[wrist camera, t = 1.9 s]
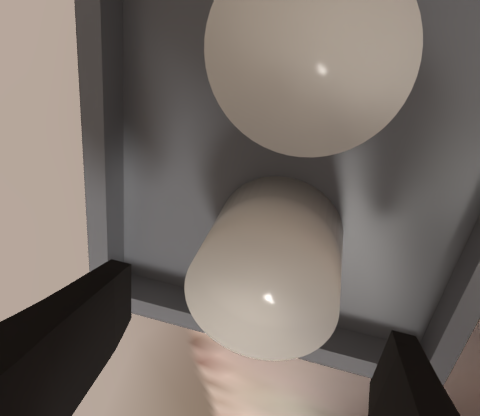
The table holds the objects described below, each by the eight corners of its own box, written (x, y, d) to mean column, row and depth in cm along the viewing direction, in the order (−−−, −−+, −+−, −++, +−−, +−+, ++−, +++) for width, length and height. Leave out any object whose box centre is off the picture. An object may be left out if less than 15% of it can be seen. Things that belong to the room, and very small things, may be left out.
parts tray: (430, 355, 18) (437, 396, 16) (114, 273, 20) (91, 302, 18) (665, -126, 10) (728, -145, 8) (104, -185, 12) (62, -211, 10)
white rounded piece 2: (327, 296, 17) (320, 377, 14) (214, 267, 18) (179, 338, 14) (357, 192, 15) (358, 258, 11) (226, 164, 15) (189, 218, 12)
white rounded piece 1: (377, 124, 14) (385, 175, 10) (235, 96, 14) (196, 136, 11) (427, -46, 11) (458, -53, 8) (255, -70, 12) (214, -86, 9)
